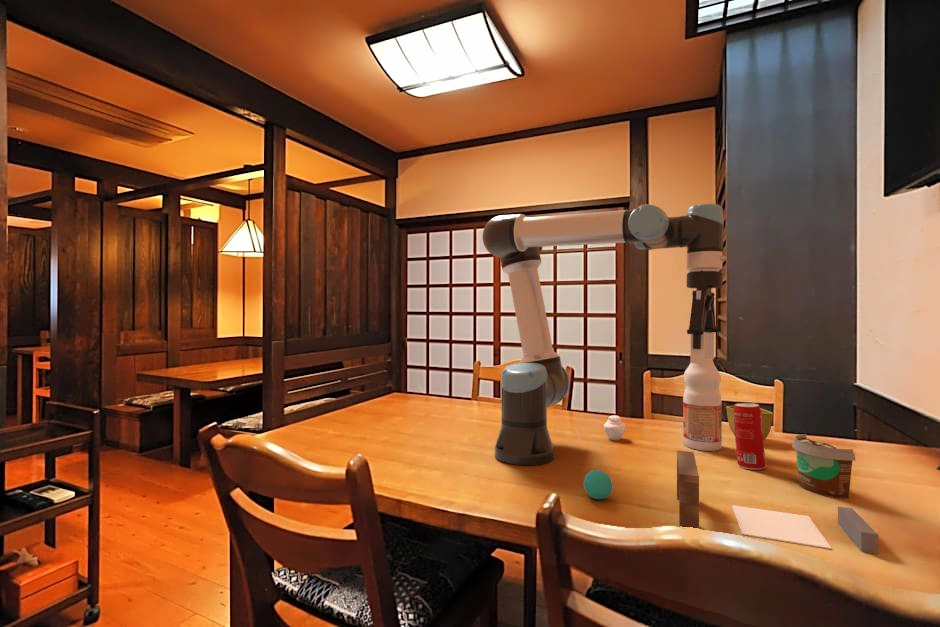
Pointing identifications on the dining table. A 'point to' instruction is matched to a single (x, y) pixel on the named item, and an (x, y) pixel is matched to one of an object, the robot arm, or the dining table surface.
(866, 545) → the wall
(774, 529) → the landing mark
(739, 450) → the beverage can
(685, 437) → the fruit juice
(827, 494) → the food container
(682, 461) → the grey brown rectangular block
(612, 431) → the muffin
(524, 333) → the robot arm
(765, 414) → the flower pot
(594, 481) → the ball
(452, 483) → the dining table surface
